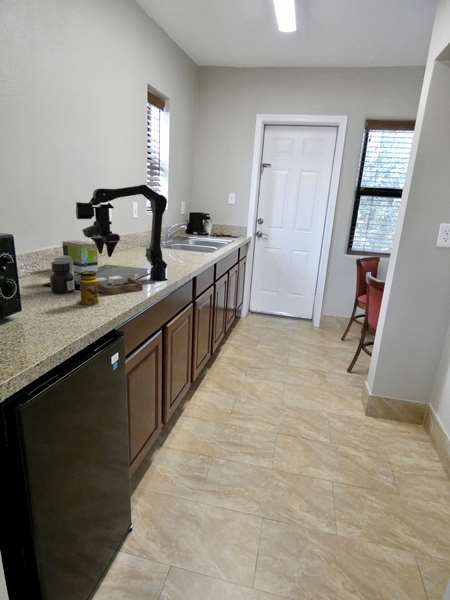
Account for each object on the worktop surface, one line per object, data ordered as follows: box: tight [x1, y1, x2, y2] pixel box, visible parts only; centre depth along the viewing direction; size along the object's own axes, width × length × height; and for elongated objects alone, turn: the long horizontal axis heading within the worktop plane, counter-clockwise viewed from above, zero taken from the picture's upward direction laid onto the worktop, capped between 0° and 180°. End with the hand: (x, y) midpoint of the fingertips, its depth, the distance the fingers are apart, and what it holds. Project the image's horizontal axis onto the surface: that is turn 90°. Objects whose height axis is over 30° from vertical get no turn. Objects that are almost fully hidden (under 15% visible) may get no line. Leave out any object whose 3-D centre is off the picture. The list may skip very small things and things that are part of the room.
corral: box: [98, 277, 143, 296], centre depth 149 cm, size 16×12×3 cm
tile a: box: [108, 275, 125, 285], centre depth 159 cm, size 5×5×3 cm
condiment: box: [73, 271, 101, 308], centre depth 127 cm, size 7×8×12 cm
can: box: [53, 254, 75, 276], centre depth 153 cm, size 8×8×12 cm
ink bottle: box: [49, 260, 76, 295], centre depth 141 cm, size 10×9×12 cm
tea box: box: [62, 240, 99, 274], centre depth 178 cm, size 15×10×15 cm
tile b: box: [96, 277, 109, 285], centre depth 154 cm, size 5×5×3 cm
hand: (105, 255), depth 155 cm, fingers open, 9 cm apart
